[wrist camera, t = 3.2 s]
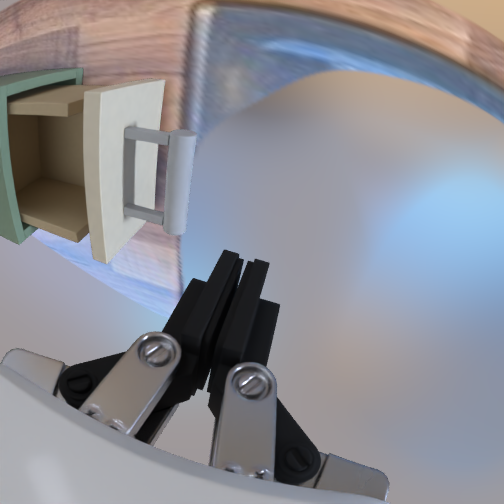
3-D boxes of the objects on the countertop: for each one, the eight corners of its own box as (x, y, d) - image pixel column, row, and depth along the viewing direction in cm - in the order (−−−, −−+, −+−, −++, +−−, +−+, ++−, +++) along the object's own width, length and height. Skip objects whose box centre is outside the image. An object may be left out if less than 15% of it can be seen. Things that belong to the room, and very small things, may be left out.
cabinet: (83, 67, 18) (-3, 87, 11) (83, 194, 24) (19, 245, 18) (-2, 76, 18) (-67, 99, 11) (4, 173, 25) (-50, 209, 18)
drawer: (226, 87, 17) (181, 99, 11) (204, 227, 23) (167, 285, 17) (42, 77, 18) (-21, 96, 12) (46, 184, 24) (-4, 219, 18)
